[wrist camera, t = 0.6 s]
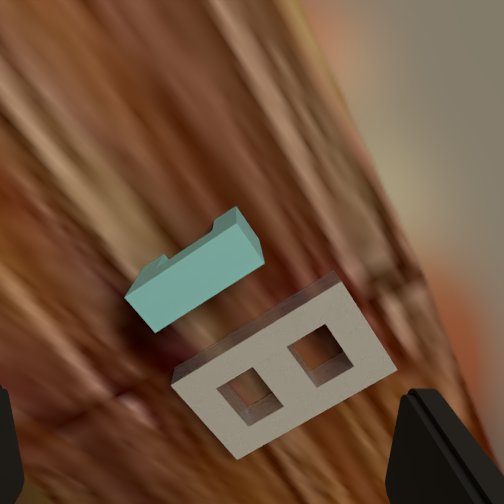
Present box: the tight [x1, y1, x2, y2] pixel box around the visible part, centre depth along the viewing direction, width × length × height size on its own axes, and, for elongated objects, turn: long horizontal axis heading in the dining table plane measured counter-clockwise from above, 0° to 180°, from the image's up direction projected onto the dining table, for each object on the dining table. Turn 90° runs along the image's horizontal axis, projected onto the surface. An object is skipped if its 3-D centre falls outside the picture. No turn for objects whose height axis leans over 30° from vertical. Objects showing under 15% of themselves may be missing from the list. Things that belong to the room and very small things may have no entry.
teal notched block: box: [125, 206, 264, 333], centre depth 34 cm, size 11×4×7 cm, turn 123°
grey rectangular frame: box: [171, 270, 397, 460], centre depth 40 cm, size 20×12×3 cm, turn 123°
